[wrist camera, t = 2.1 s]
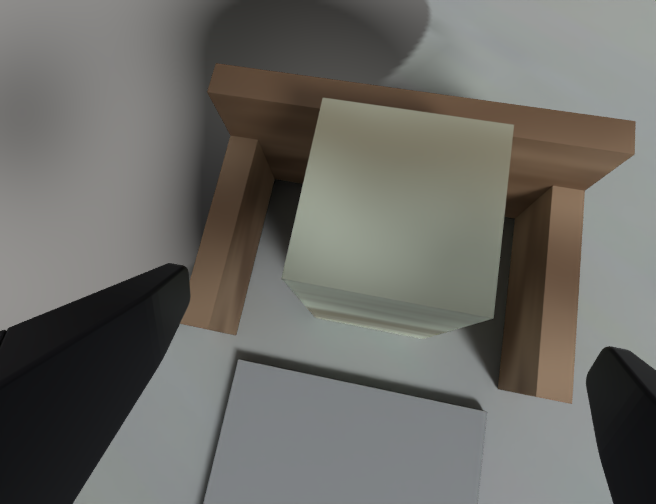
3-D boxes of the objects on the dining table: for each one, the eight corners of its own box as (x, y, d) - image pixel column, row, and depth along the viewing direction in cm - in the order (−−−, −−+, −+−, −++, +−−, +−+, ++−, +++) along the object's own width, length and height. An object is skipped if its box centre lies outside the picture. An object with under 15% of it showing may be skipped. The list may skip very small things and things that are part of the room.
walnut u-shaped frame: (525, 394, 18) (626, 414, 12) (211, 330, 20) (139, 314, 13) (542, 199, 21) (635, 121, 14) (257, 154, 22) (215, 63, 15)
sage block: (422, 339, 19) (493, 318, 10) (315, 317, 20) (281, 278, 10) (437, 235, 21) (514, 124, 11) (336, 218, 21) (322, 97, 11)
